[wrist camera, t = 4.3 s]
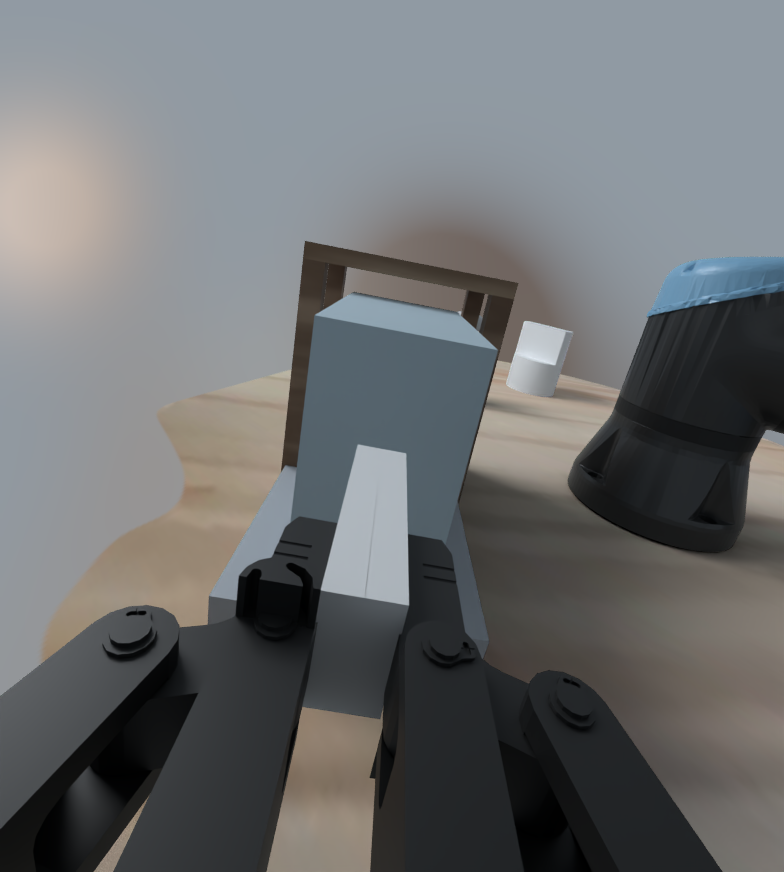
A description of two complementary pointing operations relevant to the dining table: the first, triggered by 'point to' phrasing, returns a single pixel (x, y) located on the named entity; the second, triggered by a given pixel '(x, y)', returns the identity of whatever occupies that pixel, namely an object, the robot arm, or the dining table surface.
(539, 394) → the cylinder with rectangular tab
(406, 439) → the block
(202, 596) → the dining table surface
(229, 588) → the runway
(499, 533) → the dining table surface
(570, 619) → the dining table surface
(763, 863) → the dining table surface
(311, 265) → the tunnel
